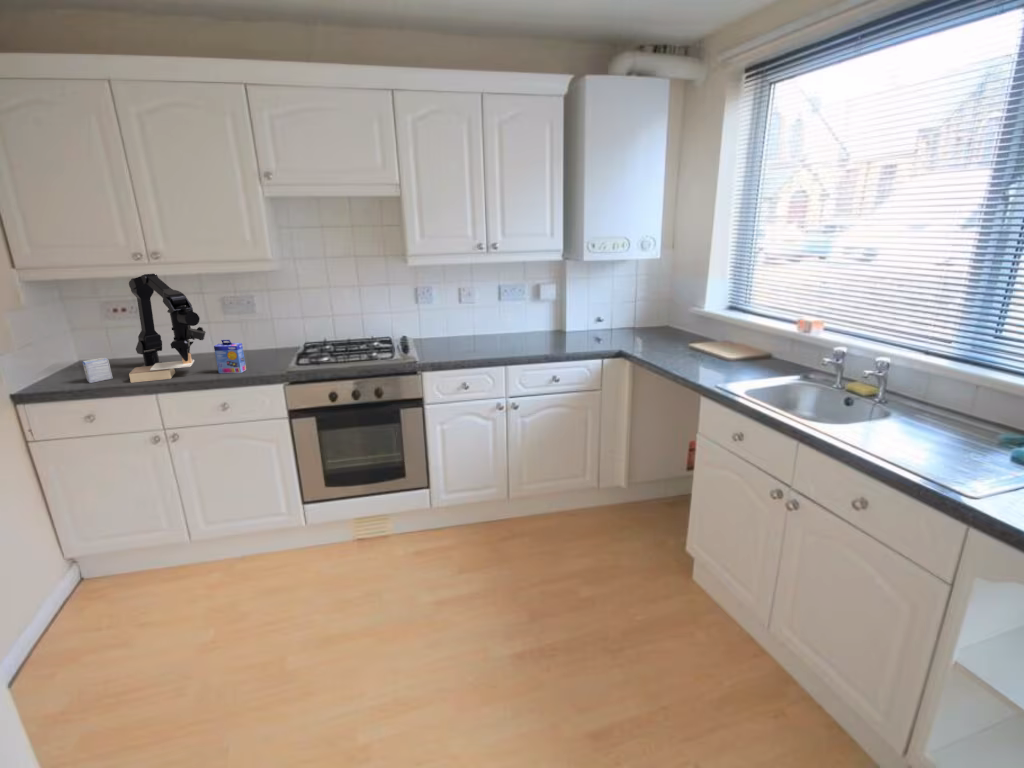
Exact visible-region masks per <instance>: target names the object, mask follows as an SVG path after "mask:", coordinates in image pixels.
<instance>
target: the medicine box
mask: <svg viewBox="0 0 1024 768" xmlns="http://www.w3.org/2000/svg"><path fill="white" fill-rule="evenodd" d="M81 362H82V366H83V370H84V373H85V377H86V381H87V382H88V383H90V384H91V383H92V384H93V383H96V382H102V381H108V380H113V373H112V369H111V365H110V361H109V359H108V358H106V357H99V358H93V359H88V360H82V361H81Z"/></svg>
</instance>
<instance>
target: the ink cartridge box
mask: <svg viewBox="0 0 1024 768" xmlns="http://www.w3.org/2000/svg"><path fill="white" fill-rule="evenodd" d="M220 341H221V342H220V343H218V344H215V345H214V346H213V350H214V354H215V355H214V356H215V361H216V365H217V371H218V374H242V373H244V372H245V371H247V365H246V360H245V359H246V358H245V353H244V347H243V343H242V342H232V341H231V339H221V340H220Z"/></svg>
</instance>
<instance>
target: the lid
mask: <svg viewBox="0 0 1024 768" xmlns="http://www.w3.org/2000/svg"><path fill="white" fill-rule="evenodd" d="M194 363H195V359H193V358H192V354H191V352H190V353H188V361H185V360H184V359H183V358H182V357H181V360H177V361H176V360H175V361H166V362H165V361H164V362H163V361H162V363H155V364H154V365H153V366H152V368H151V369H150V371H151V370H161V369H172V368H174V369H178V368H179V369H180V368H190V367H191V366H193V364H194Z"/></svg>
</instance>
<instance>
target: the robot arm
mask: <svg viewBox="0 0 1024 768" xmlns="http://www.w3.org/2000/svg"><path fill="white" fill-rule="evenodd" d="M155 274H156V273H145V274H144V273H143V274H142V275H140V276H137V277H132V278H131V279H130V280H129V282H128V286H129V288H130V292H131V293H132V295H134V297H136V300H137V308H138V314H139V315H138V316H139V321H140V328H141V330H140V333H139V334H138V336H137V339H138V342H137V344H136V347H135V351H136V354H137V355H138V354H139V355H142V358H143V362H144V364H143V365H142V367H145V366H153V365H154V364H155V363H163V361H160V358H159V352H161V351H163V341H162V336H161V335H160V333H158V332H157V331H156V329H155V322H154V321H155V320H154V315H153V309H152V301H151V297H153V294H154V292H155V293H156V294H157V295H159V296H160V297H161V298H162V303H163V304H164V305H165V306H166V307H167V309H168V310H167V312H166V313H168V314H169V316H170V321H171V326H172V327H171V331H173V340H172V342H171V343H170V348H171V349H173V350H174V349H175V350H176V351H177V352H178V354H179V355H180V356H181V359H182V358H183V359H184V360H185V361H188V353H191V352H190V351H191V346H192V345H193V344H194V341H195V340H198V341H204V340H205V336H206V333H207V332H206V330H204V328H203V327H200V326H198V327H197V328H191V327H194V326H195V327H196V326H197V325H199V322H200V320H201V319H200V316H199V314H198V313H196V312H195V311H194V309H193V305H192V303H191V302H190V301H189V299H188V298H187V296H186V295H185V294H184V293H183V292H181V291H180V290H176V289H173V288H171V286H169V285H167V283H165V282H164V281H163V280H162V279H160V277H159V276H158V275H157V274H156V275H155ZM190 340H192V341H190Z"/></svg>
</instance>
